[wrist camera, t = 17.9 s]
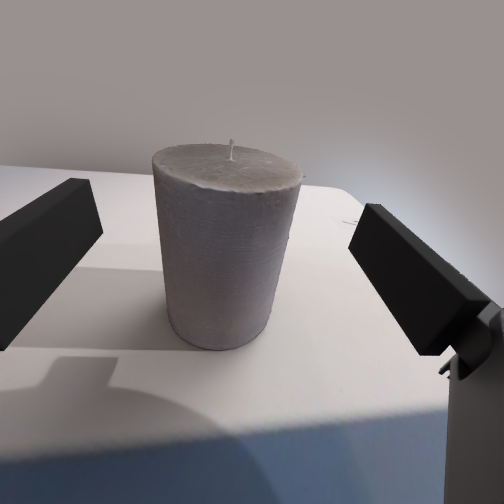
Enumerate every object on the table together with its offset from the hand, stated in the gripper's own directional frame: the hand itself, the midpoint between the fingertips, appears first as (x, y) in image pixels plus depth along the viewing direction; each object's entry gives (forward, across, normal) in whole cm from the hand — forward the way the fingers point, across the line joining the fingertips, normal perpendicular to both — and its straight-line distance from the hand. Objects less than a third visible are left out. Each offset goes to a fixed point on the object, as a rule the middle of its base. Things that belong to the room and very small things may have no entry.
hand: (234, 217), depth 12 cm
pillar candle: (+5, 0, -13) cm, 14 cm away
